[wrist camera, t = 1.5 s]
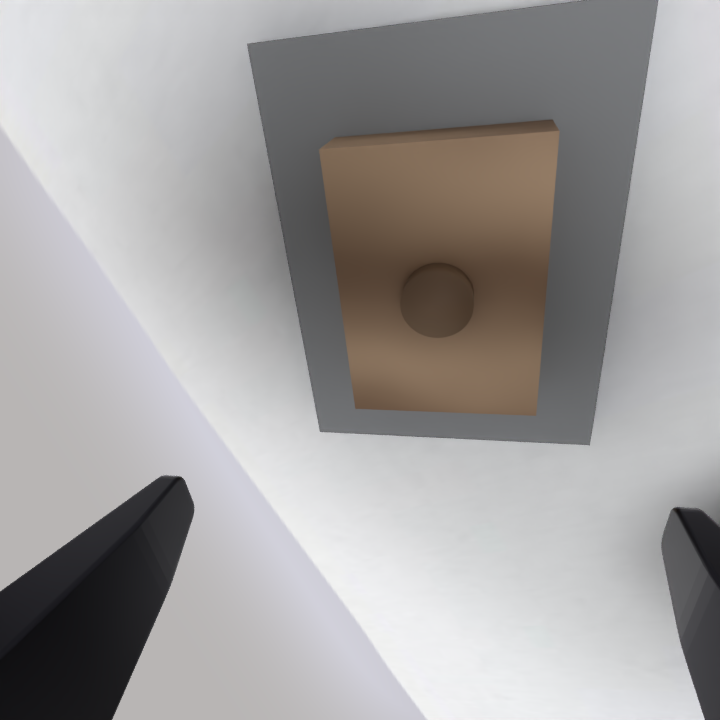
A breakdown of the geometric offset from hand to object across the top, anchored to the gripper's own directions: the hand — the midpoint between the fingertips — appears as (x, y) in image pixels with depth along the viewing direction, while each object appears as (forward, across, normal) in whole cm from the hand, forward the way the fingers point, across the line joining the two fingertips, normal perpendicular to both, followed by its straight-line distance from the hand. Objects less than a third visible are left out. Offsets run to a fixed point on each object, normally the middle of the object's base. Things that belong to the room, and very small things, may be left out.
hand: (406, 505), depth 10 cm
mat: (+13, 0, +1) cm, 13 cm away
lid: (+12, 0, +1) cm, 12 cm away
